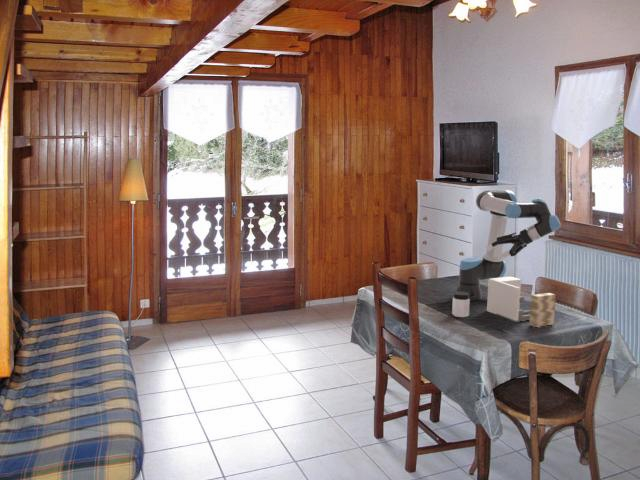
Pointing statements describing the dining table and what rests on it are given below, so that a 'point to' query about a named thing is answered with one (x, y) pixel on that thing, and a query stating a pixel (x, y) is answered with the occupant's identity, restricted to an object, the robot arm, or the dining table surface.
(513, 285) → the cabinet
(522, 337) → the dining table surface
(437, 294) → the dining table surface
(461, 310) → the jar
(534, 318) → the tan patterned box
